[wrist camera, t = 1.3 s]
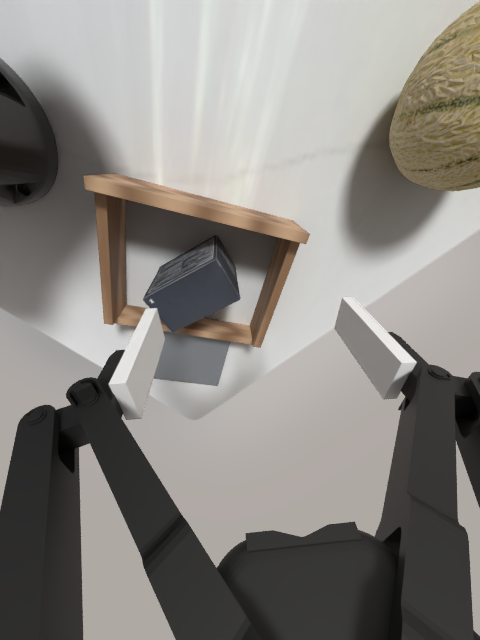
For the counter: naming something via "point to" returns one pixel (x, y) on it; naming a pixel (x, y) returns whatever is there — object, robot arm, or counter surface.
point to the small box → (194, 285)
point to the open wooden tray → (119, 187)
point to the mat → (191, 359)
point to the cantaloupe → (442, 111)
